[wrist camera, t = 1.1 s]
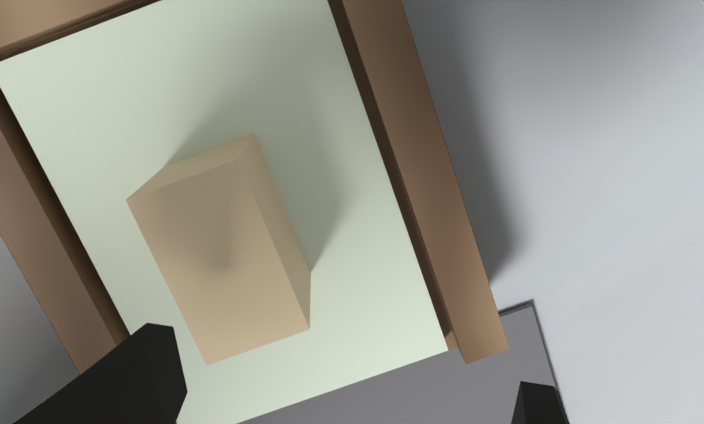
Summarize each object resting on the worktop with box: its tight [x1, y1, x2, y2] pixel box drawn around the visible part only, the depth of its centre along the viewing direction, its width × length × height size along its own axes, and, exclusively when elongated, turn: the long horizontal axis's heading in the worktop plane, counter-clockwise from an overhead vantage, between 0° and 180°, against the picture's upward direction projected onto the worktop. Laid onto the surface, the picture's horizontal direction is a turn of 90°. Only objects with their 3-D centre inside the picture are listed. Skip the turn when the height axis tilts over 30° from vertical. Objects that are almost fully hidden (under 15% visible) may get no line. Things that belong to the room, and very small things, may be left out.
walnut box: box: [0, 0, 509, 424], centre depth 21 cm, size 14×16×4 cm
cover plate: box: [0, 0, 448, 424], centre depth 18 cm, size 10×14×5 cm
